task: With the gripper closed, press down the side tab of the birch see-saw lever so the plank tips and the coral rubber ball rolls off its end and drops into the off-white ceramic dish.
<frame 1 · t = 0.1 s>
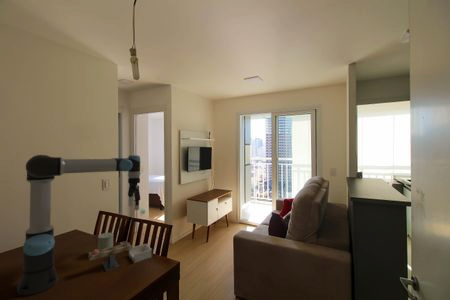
hand: (133, 208, 148), 28 cm above the table, fingers open, 13 cm apart
lever: (109, 249, 127), point 8 cm above the table, hinge at 0.0°, touching ball
ball: (95, 255, 119), point 8 cm above the table, touching lever
can: (105, 252, 140), on the table
fulcrum: (110, 265, 125), on the table
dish: (140, 256, 136), on the table
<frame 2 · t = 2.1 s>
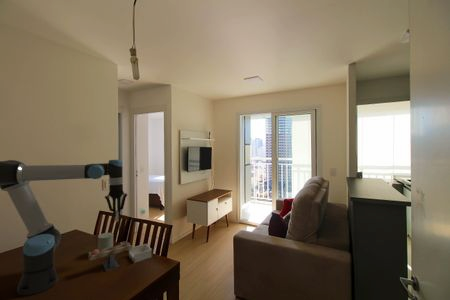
hand: (116, 221, 134), 23 cm above the table, fingers closed
nothing on the table moved.
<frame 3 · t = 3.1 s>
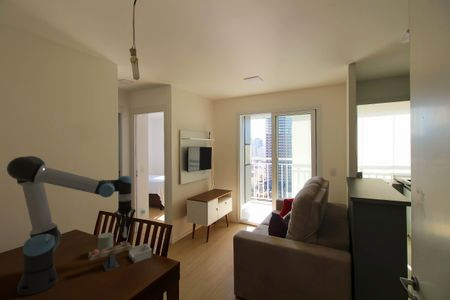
hand: (124, 236, 136), 12 cm above the table, fingers closed
nothing on the table moved.
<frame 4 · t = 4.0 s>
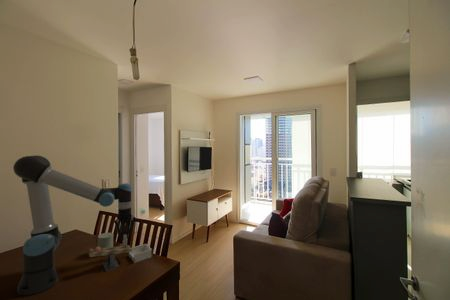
hand: (124, 244, 136), 7 cm above the table, fingers closed
lever: (109, 249, 127), point 8 cm above the table, hinge at 9.3°, touching ball, gripper
ball: (95, 252, 120), point 10 cm above the table, tilted 27°, touching lever
everything else where it was.
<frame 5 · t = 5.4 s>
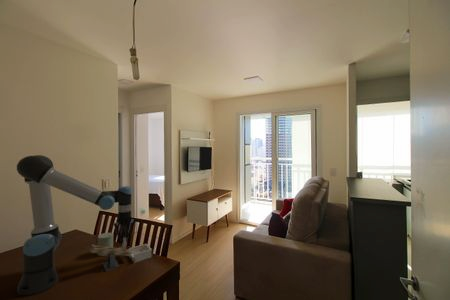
hand: (124, 247, 136), 5 cm above the table, fingers closed
lever: (109, 249, 127), point 8 cm above the table, hinge at 21.8°, touching gripper
ball: (140, 253, 136), point 2 cm above the table, tilted 72°, touching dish
everything else where it was.
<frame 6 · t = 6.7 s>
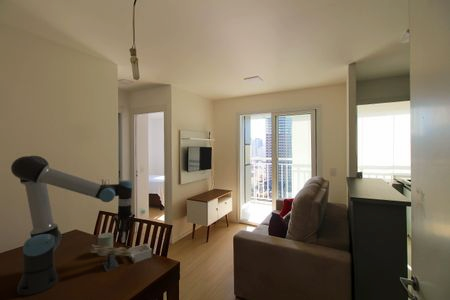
hand: (123, 241, 136), 9 cm above the table, fingers closed
lever: (109, 249, 127), point 8 cm above the table, hinge at 21.8°
ball: (140, 254, 136), point 2 cm above the table, tilted 67°, touching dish
everything else where it was.
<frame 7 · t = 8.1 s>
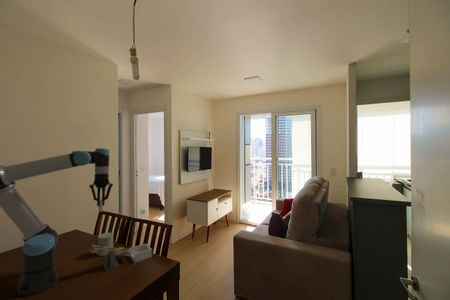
hand: (100, 211, 131), 30 cm above the table, fingers closed
ball: (140, 254, 136), point 1 cm above the table, tilted 60°, touching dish
everything else where it was.
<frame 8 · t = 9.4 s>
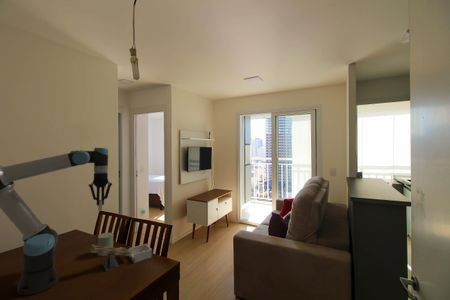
hand: (100, 210, 131), 30 cm above the table, fingers closed
ball: (140, 254, 136), point 1 cm above the table, tilted 55°, touching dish
everything else where it was.
at the end: ball inside the target area on the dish (0.0 cm from its centre), point 1.3 cm above the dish's base; lever at +22° (first picture: +0°) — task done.
